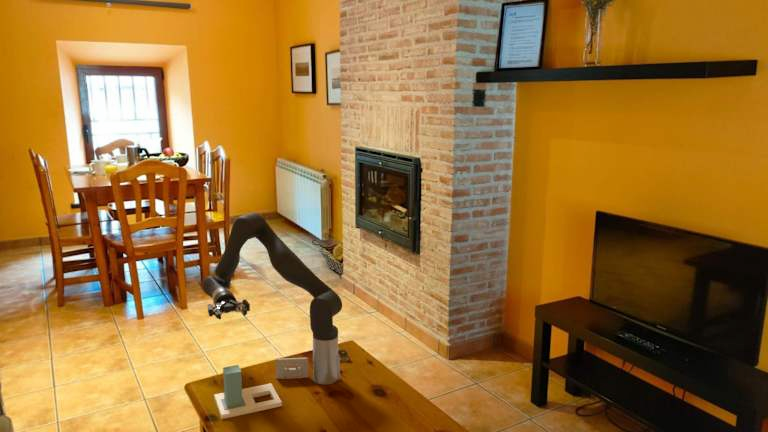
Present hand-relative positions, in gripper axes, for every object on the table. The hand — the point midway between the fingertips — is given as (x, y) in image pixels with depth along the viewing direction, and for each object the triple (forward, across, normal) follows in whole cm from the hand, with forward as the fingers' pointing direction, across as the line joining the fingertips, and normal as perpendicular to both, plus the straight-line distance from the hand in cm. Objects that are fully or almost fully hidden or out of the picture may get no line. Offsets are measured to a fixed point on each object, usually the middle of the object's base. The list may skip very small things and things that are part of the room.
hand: (232, 314), depth 201 cm
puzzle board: (+11, +2, +28) cm, 30 cm away
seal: (-10, +40, +29) cm, 51 cm away
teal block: (+12, -3, +26) cm, 29 cm away
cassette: (0, +21, +28) cm, 35 cm away
